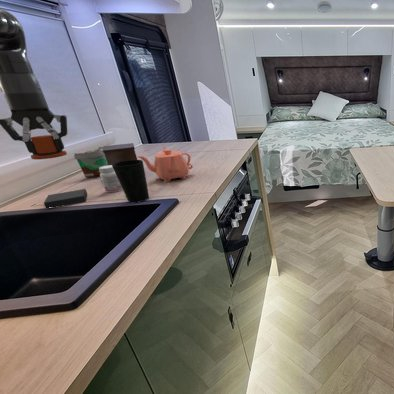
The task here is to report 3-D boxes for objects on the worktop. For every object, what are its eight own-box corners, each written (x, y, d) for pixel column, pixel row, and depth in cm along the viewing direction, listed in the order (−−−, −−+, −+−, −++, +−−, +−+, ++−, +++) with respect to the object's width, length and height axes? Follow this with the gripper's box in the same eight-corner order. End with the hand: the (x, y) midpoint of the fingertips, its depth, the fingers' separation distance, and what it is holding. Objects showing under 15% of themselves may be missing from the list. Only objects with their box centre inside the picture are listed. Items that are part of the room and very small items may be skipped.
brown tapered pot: (113, 182, 108) (102, 150, 104) (113, 176, 115) (103, 146, 111) (143, 177, 114) (134, 146, 109) (141, 171, 120) (133, 143, 116)
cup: (158, 195, 95) (148, 160, 91) (138, 204, 88) (126, 167, 84) (139, 194, 97) (128, 159, 92) (118, 202, 90) (105, 165, 85)
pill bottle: (104, 190, 100) (96, 167, 97) (121, 186, 103) (113, 164, 100) (107, 193, 97) (98, 169, 94) (124, 190, 100) (116, 166, 97)
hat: (29, 161, 81) (19, 140, 79) (34, 155, 87) (26, 136, 84) (65, 156, 85) (57, 136, 83) (68, 151, 91) (61, 133, 89)
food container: (98, 179, 112) (89, 153, 108) (82, 179, 112) (72, 153, 108) (121, 169, 123) (114, 146, 119) (107, 170, 123) (99, 146, 119)
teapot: (179, 184, 106) (172, 154, 101) (143, 183, 107) (134, 154, 103) (202, 172, 119) (196, 145, 115) (170, 171, 120) (163, 145, 116)
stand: (46, 209, 86) (43, 202, 85) (50, 200, 92) (48, 195, 91) (85, 201, 91) (83, 195, 90) (87, 194, 97) (85, 188, 96)
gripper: (60, 90, 86) (81, 147, 92) (-12, 92, 78) (16, 154, 84) (56, 90, 80) (79, 151, 87) (-22, 92, 72) (9, 159, 79)
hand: (48, 152), depth 86 cm, fingers closed on hat, 4 cm apart
